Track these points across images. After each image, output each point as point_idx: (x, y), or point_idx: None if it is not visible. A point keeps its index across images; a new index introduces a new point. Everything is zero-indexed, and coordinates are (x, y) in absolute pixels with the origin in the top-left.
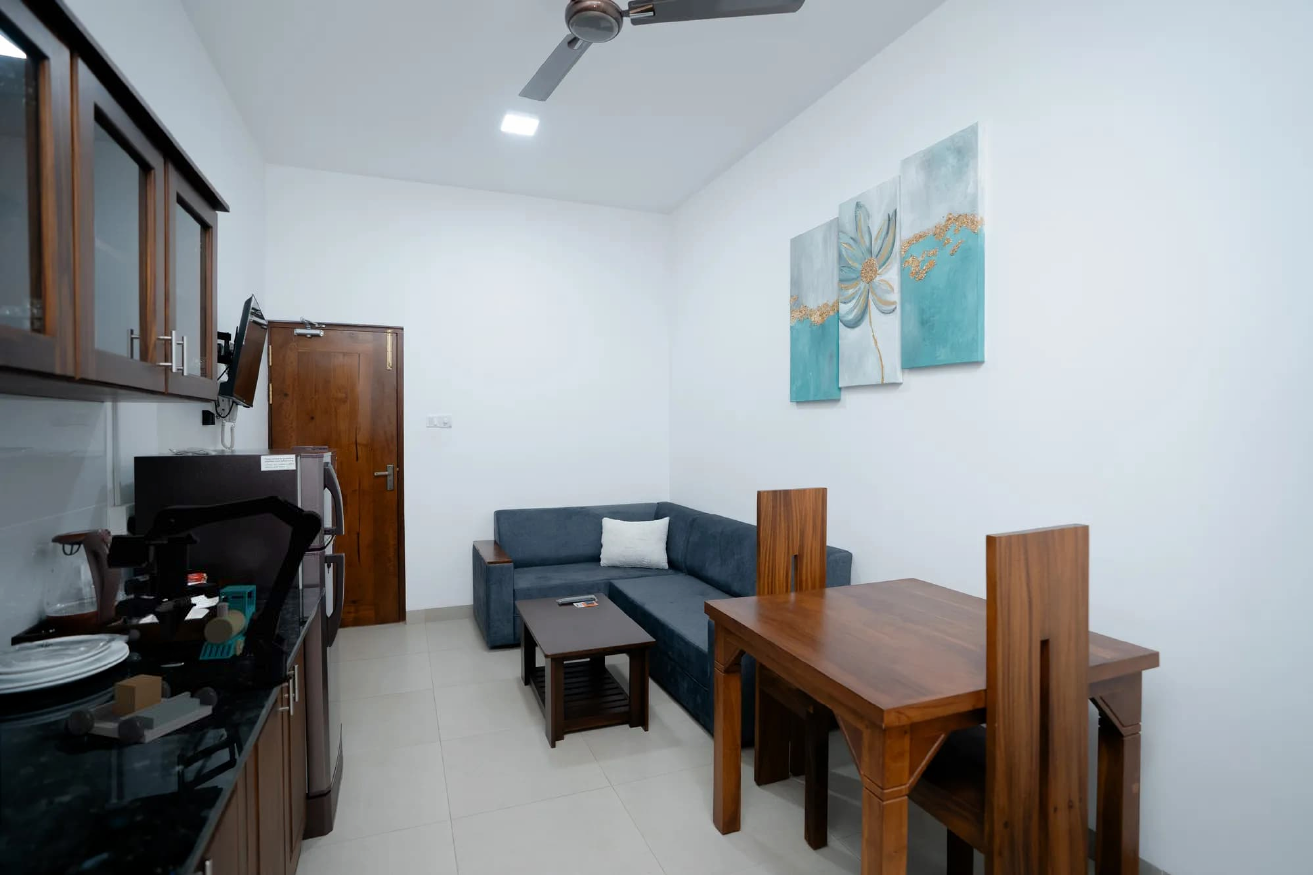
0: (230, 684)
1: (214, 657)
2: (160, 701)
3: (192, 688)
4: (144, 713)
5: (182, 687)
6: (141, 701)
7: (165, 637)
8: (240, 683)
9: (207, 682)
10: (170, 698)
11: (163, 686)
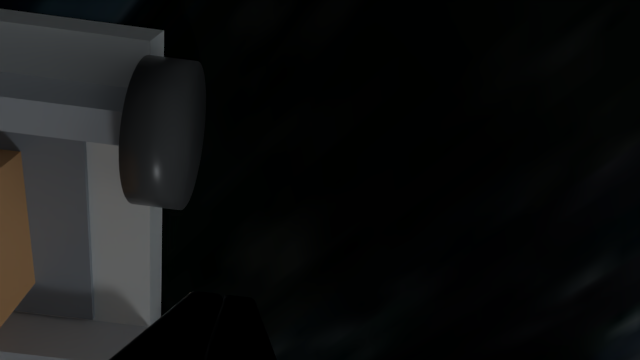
0: (502, 278)
1: None
2: (16, 303)
3: (423, 123)
4: None
5: (432, 47)
6: None
7: (175, 305)
8: (520, 315)
9: (529, 135)
10: (31, 356)
11: (141, 202)
